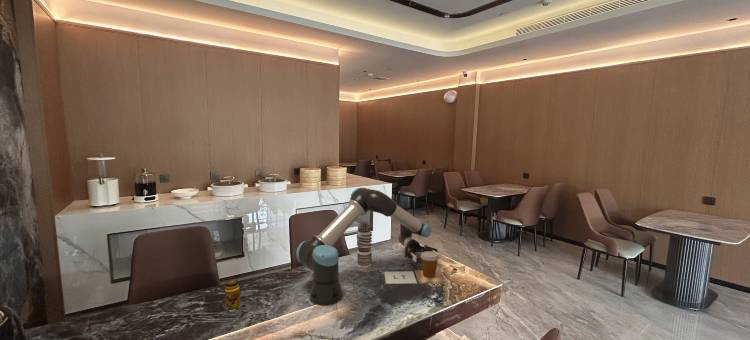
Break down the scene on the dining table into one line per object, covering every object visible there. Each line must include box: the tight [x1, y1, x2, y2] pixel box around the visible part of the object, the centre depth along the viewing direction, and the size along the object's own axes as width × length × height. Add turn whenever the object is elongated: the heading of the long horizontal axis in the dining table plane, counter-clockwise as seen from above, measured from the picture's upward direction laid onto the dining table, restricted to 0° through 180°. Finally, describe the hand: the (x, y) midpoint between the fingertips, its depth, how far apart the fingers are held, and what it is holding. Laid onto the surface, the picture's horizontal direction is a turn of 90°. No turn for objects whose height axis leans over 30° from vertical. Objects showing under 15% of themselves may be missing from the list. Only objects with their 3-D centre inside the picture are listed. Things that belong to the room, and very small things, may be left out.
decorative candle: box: [356, 221, 373, 268], centre depth 185 cm, size 9×9×25 cm
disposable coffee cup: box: [420, 251, 440, 278], centre depth 169 cm, size 10×10×12 cm
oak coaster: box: [414, 269, 447, 284], centre depth 169 cm, size 14×14×1 cm
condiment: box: [224, 279, 242, 310], centre depth 140 cm, size 7×8×12 cm
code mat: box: [383, 270, 418, 285], centre depth 169 cm, size 16×14×1 cm
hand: (427, 258), depth 172 cm, fingers open, 13 cm apart
